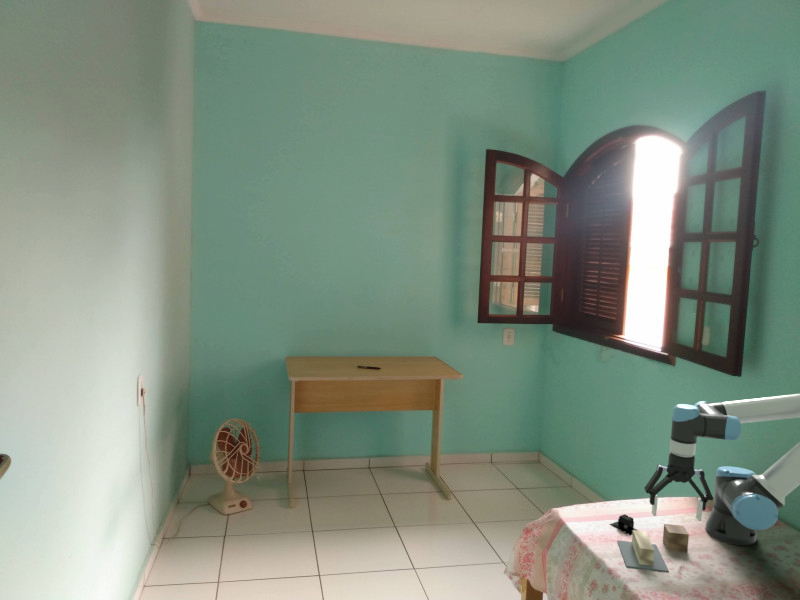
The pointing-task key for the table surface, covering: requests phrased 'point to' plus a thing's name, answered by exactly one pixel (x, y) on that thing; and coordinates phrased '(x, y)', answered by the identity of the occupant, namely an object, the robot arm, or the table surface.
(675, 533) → the walnut cube
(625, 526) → the black plastic holder
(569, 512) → the table surface
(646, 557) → the plinth
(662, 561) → the mat
